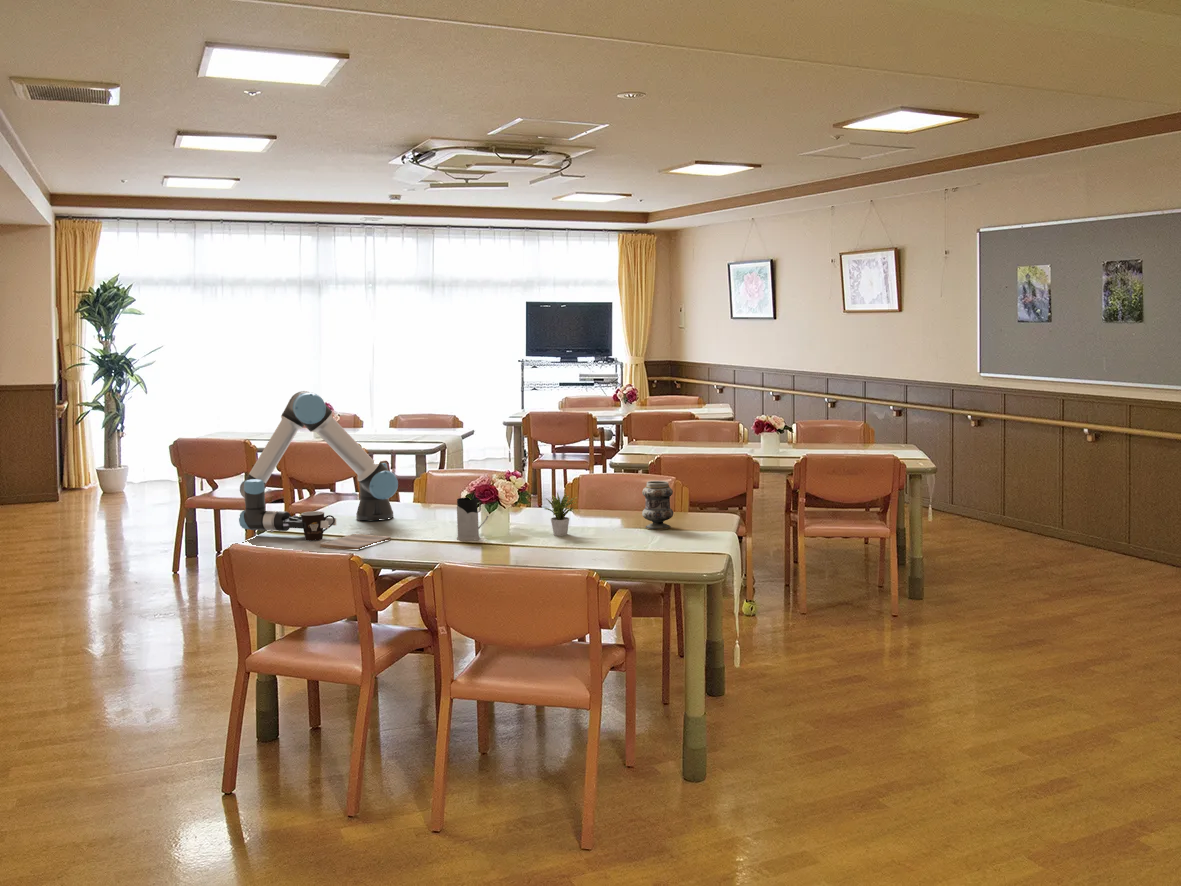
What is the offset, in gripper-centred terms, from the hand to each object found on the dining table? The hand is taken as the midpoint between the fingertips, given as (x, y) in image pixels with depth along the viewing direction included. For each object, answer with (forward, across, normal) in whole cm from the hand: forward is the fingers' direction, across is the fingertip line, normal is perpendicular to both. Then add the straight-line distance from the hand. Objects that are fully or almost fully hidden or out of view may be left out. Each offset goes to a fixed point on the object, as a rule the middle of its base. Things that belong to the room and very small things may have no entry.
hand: (331, 523), depth 419 cm
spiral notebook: (+13, +6, -6) cm, 16 cm away
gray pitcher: (+52, -14, -6) cm, 54 cm away
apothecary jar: (+115, -46, -7) cm, 125 cm away
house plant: (+83, -25, -6) cm, 87 cm away
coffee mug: (-5, +2, -6) cm, 8 cm away
